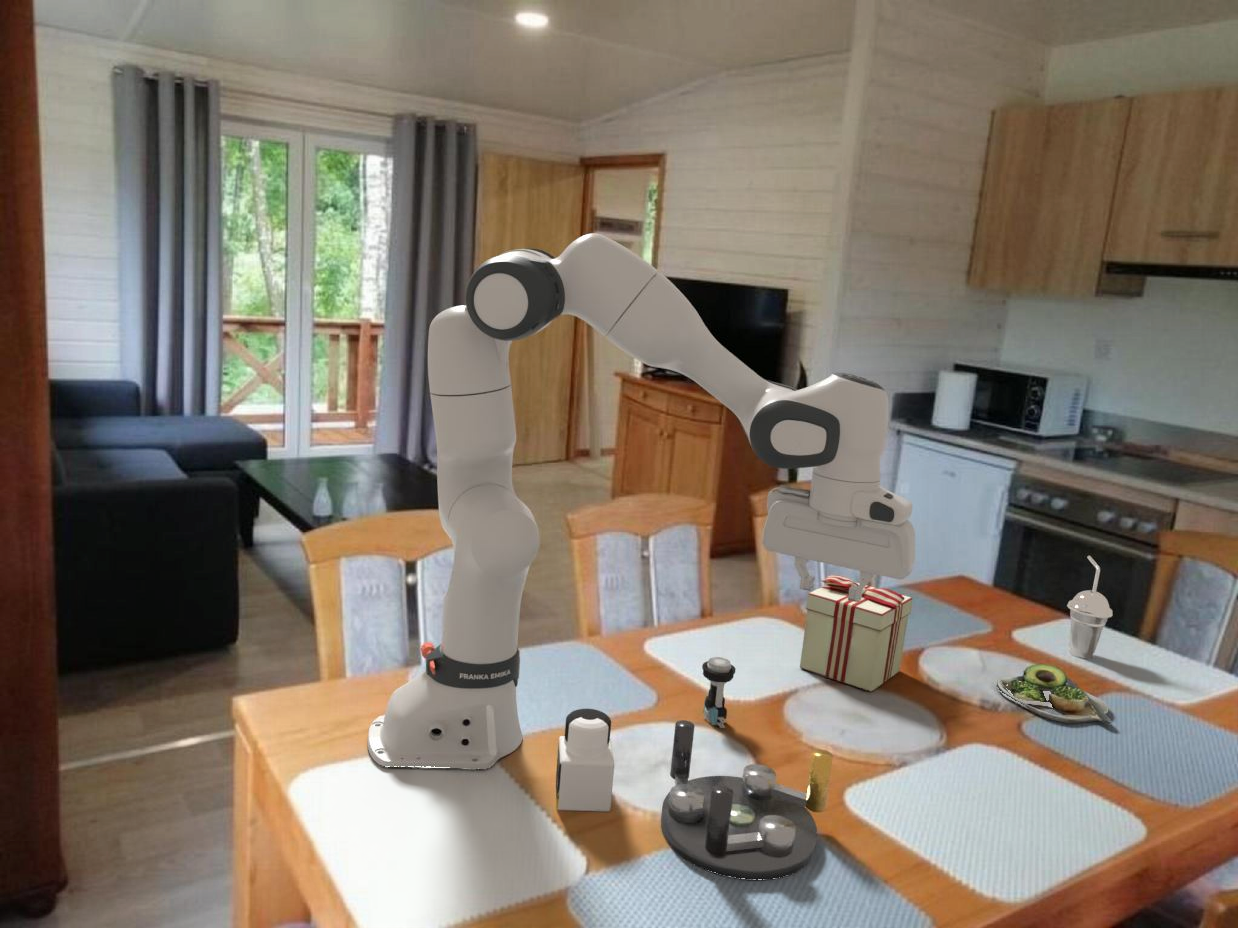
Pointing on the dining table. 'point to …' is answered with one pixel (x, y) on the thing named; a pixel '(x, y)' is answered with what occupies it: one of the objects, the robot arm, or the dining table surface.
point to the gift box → (854, 633)
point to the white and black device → (585, 763)
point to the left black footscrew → (684, 777)
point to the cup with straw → (1087, 619)
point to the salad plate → (1054, 695)
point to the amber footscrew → (763, 787)
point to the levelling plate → (743, 820)
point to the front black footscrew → (770, 838)
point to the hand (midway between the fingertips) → (830, 594)
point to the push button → (717, 688)
